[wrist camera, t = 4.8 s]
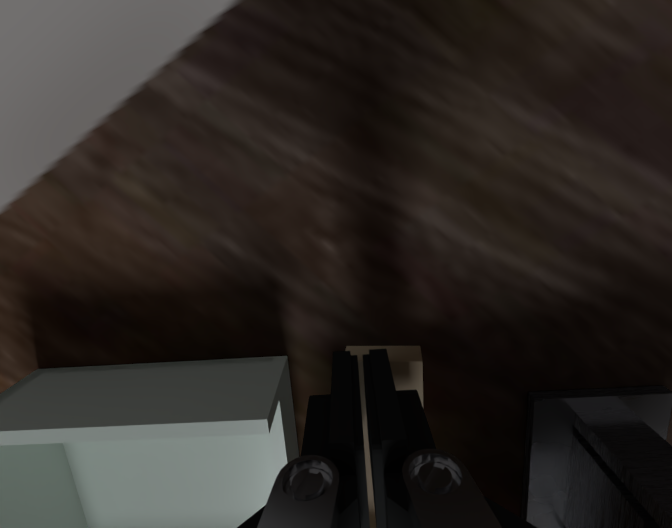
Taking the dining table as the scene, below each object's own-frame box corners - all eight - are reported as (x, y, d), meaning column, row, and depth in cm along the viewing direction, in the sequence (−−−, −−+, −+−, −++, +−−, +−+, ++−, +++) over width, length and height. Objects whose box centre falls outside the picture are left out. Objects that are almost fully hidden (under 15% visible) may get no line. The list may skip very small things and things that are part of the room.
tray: (314, 583, 21) (305, 692, 17) (105, 588, 22) (44, 695, 17) (287, 355, 18) (267, 419, 13) (37, 369, 18) (-60, 434, 14)
